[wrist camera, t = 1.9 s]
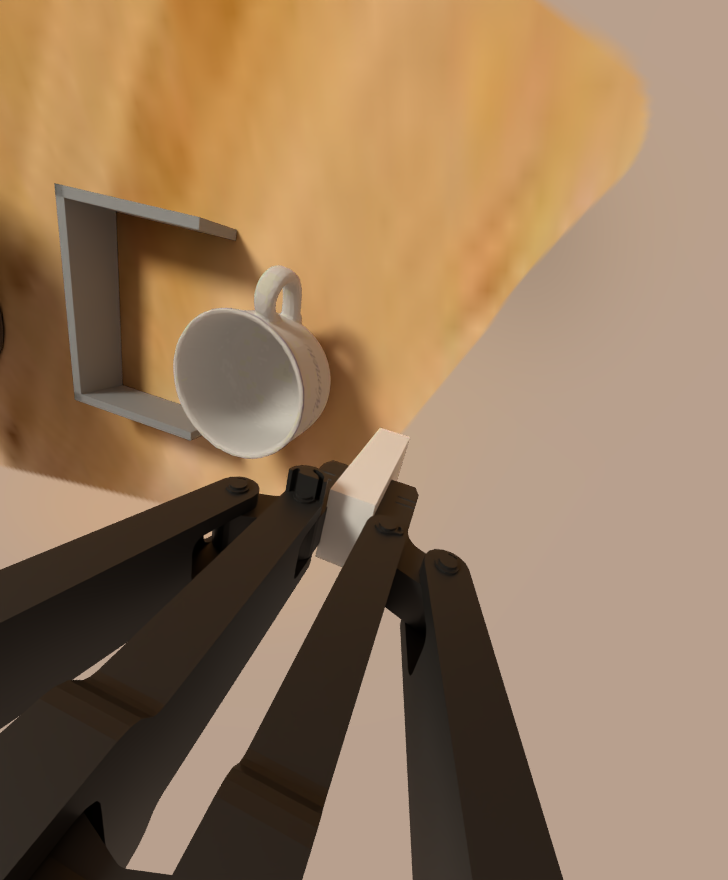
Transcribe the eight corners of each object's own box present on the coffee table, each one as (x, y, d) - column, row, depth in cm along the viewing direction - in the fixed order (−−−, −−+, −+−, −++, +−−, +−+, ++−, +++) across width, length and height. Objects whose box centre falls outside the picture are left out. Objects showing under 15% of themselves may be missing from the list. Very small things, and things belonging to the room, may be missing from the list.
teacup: (303, 450, 35) (259, 487, 28) (215, 380, 35) (148, 399, 28) (388, 328, 29) (360, 334, 22) (282, 244, 29) (219, 223, 22)
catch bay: (116, 390, 39) (74, 399, 34) (108, 199, 32) (54, 183, 28) (221, 425, 36) (190, 440, 32) (236, 229, 30) (199, 217, 26)
